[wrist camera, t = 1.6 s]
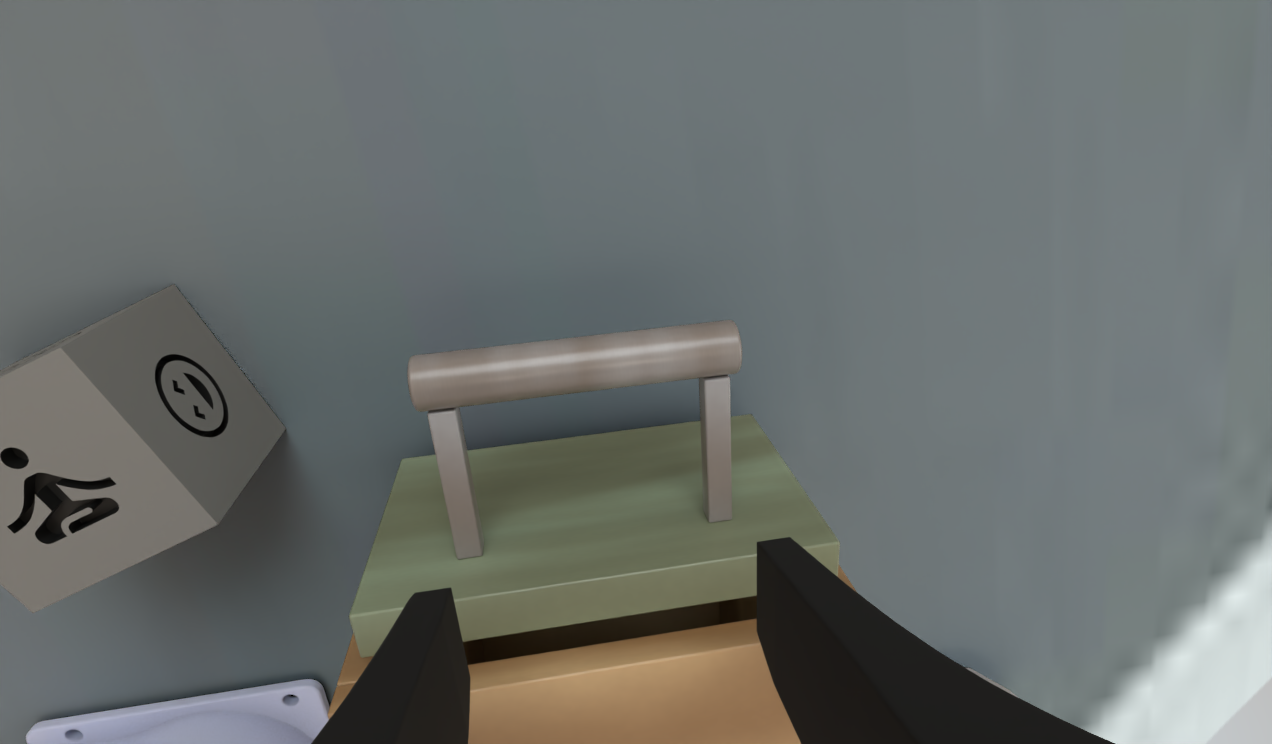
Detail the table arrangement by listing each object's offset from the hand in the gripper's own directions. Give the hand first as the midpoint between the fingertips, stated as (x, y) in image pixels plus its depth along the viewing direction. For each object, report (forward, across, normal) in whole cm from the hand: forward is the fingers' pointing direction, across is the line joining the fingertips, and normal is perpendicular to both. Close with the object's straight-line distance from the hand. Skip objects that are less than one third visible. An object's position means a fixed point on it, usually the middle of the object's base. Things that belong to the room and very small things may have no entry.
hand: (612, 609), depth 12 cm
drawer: (+10, 0, +5) cm, 11 cm away
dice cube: (+11, +12, -1) cm, 16 cm away
